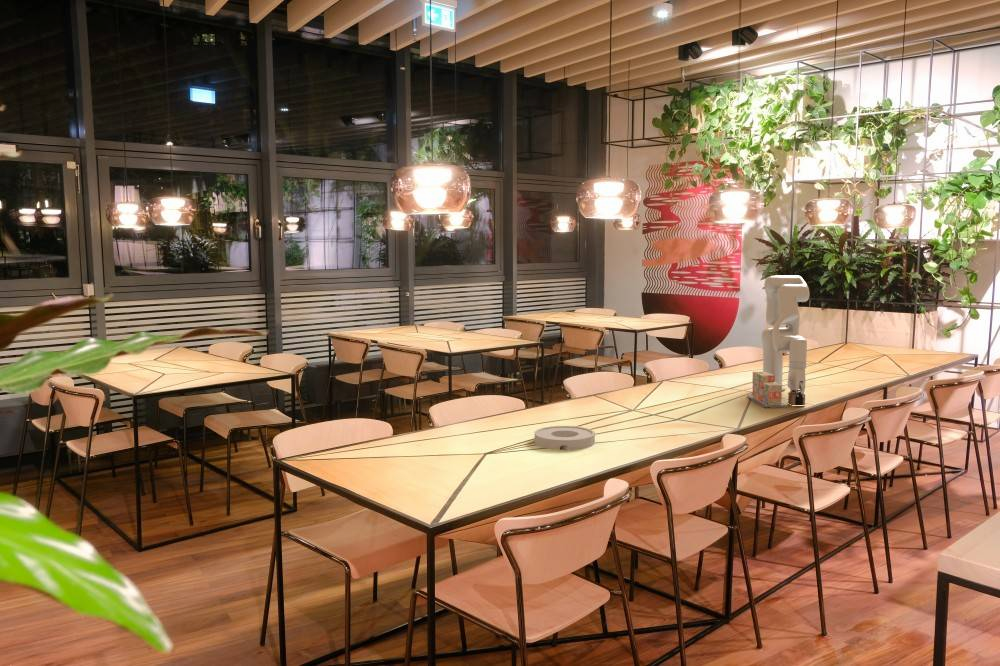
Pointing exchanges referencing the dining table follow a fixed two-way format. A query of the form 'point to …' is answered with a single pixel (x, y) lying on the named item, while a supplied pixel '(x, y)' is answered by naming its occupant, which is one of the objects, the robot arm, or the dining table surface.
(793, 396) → the walnut cube
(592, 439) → the ashtray
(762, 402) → the blueprint board
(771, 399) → the stack of blocks
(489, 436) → the dining table surface
